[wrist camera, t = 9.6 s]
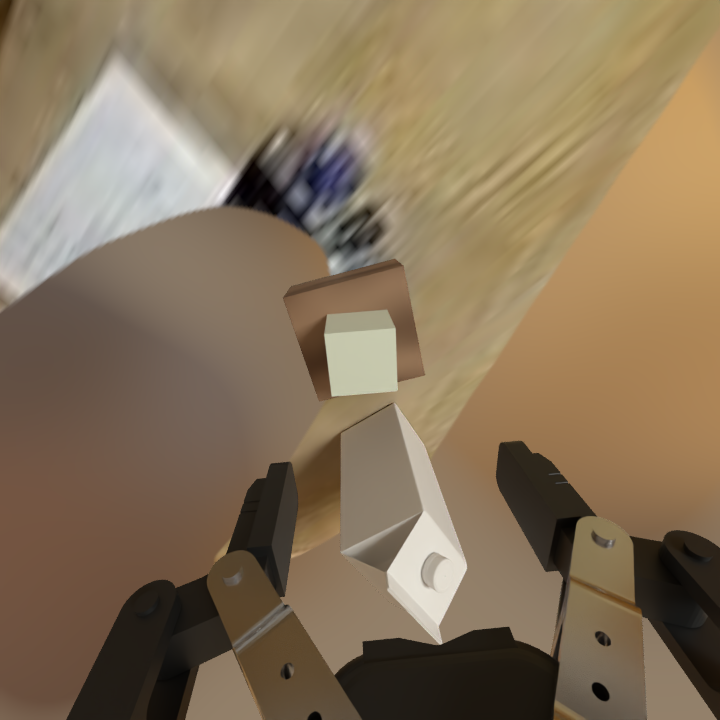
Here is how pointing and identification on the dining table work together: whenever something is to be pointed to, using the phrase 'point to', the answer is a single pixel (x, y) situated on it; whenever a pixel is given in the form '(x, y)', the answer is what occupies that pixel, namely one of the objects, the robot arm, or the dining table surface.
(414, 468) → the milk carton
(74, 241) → the dining table surface
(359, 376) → the sage cube
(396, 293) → the walnut block
